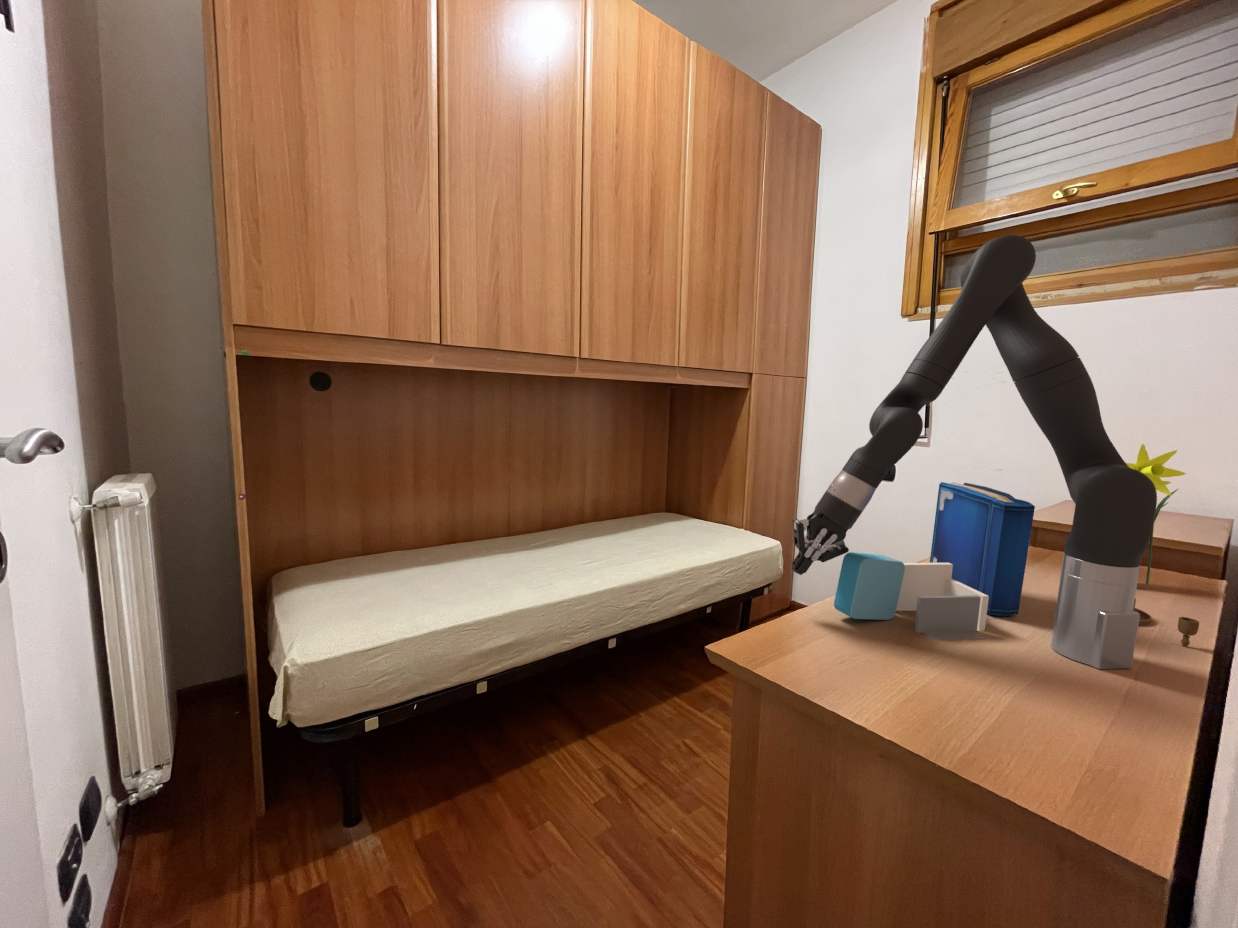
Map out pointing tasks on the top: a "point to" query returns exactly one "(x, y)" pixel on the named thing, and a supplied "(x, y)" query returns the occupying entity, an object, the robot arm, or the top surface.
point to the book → (984, 541)
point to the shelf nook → (942, 602)
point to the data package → (869, 586)
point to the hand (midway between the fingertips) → (796, 571)
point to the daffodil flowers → (1155, 483)
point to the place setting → (1184, 625)
